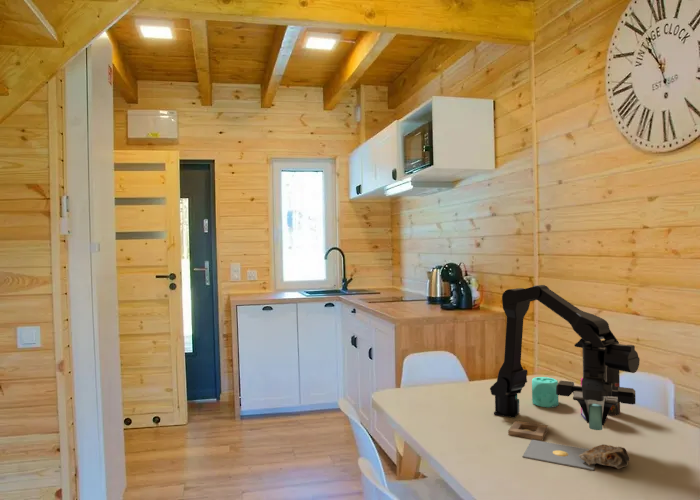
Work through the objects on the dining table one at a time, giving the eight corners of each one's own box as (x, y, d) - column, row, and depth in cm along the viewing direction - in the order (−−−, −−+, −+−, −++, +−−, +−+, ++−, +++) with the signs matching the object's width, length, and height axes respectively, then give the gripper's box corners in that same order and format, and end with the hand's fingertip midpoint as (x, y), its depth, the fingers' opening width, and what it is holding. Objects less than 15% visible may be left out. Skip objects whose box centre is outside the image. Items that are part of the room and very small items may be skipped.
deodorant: (594, 409, 157) (594, 362, 157) (612, 408, 158) (611, 361, 158) (606, 415, 152) (605, 367, 152) (624, 414, 152) (623, 366, 152)
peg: (588, 429, 131) (588, 406, 131) (589, 425, 134) (589, 403, 134) (602, 431, 129) (601, 408, 129) (602, 427, 132) (602, 404, 132)
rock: (629, 462, 119) (585, 443, 125) (635, 442, 117) (590, 424, 123) (622, 484, 112) (576, 463, 118) (627, 463, 111) (580, 443, 116)
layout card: (522, 457, 123) (522, 455, 123) (531, 440, 133) (531, 439, 133) (593, 470, 115) (593, 469, 115) (597, 451, 125) (597, 450, 125)
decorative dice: (532, 399, 170) (532, 376, 170) (557, 401, 167) (557, 377, 167) (532, 406, 162) (531, 382, 162) (558, 408, 159) (558, 383, 159)
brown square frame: (508, 434, 138) (508, 430, 138) (515, 424, 146) (515, 420, 146) (542, 440, 133) (542, 435, 133) (547, 429, 141) (547, 425, 141)
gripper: (552, 368, 129) (553, 427, 129) (634, 376, 120) (635, 440, 120) (558, 359, 139) (559, 415, 139) (635, 366, 129) (636, 426, 129)
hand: (595, 424), depth 132 cm, fingers closed on peg, 3 cm apart
